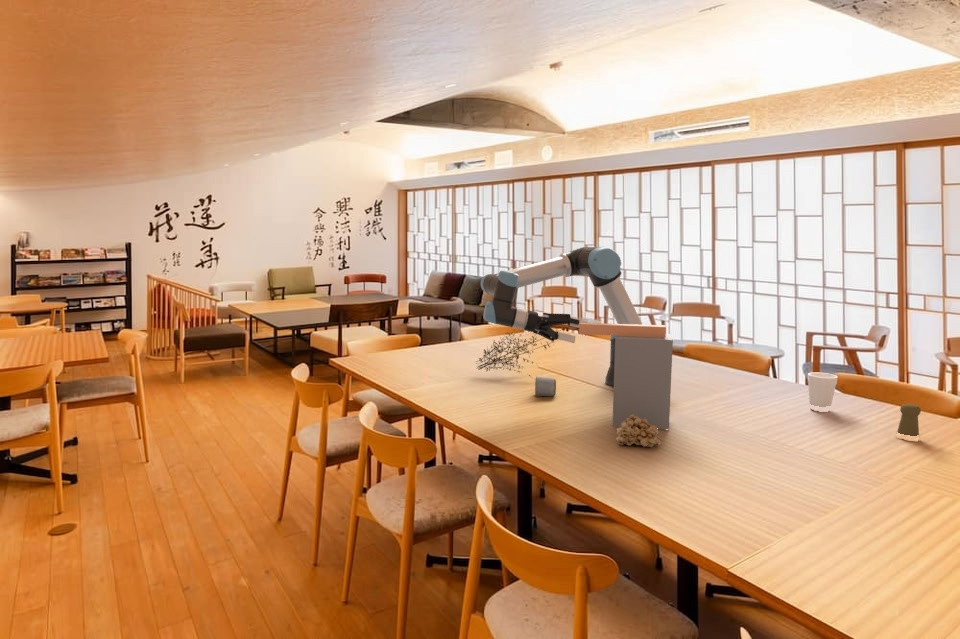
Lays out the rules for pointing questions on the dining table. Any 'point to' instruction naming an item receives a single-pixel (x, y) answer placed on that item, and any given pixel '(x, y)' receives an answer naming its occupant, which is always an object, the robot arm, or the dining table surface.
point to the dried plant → (508, 353)
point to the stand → (642, 379)
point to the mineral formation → (637, 432)
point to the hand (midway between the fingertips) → (580, 332)
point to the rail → (622, 329)
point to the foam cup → (821, 388)
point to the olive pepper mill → (909, 420)
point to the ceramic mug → (545, 386)
